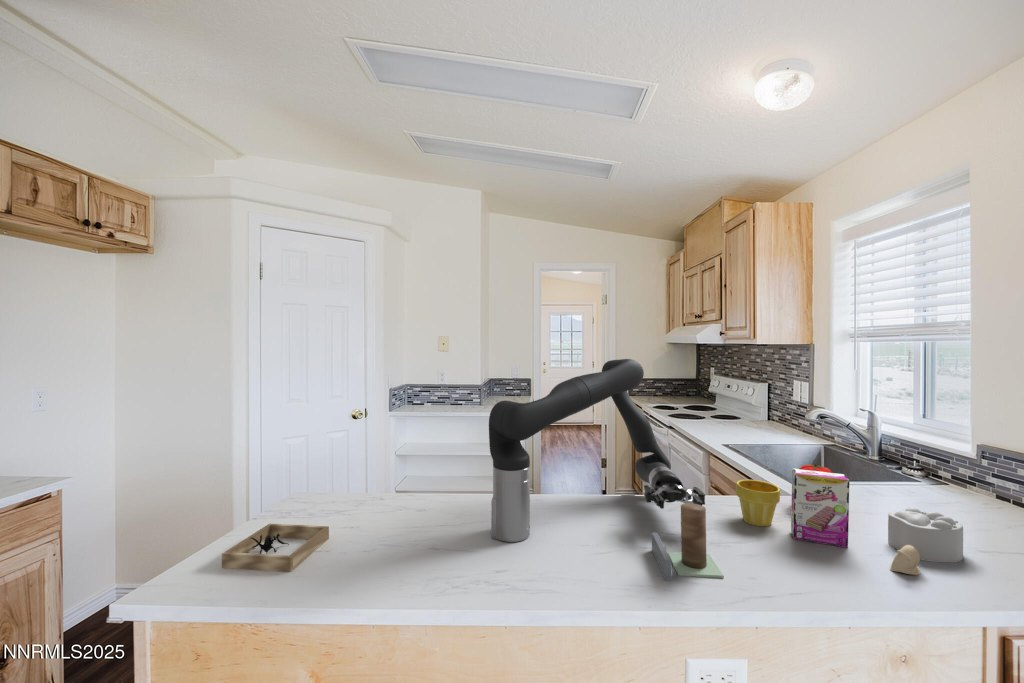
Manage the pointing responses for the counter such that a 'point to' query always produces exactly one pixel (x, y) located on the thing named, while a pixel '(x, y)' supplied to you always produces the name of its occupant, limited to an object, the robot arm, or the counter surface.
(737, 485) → the plant pot
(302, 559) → the wooden frame
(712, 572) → the pad
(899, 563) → the decorative ornament
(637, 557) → the counter surface
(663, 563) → the low wall
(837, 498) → the candy bar box
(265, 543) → the creature
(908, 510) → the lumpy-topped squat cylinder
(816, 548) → the counter surface
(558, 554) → the counter surface
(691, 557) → the walnut canister
